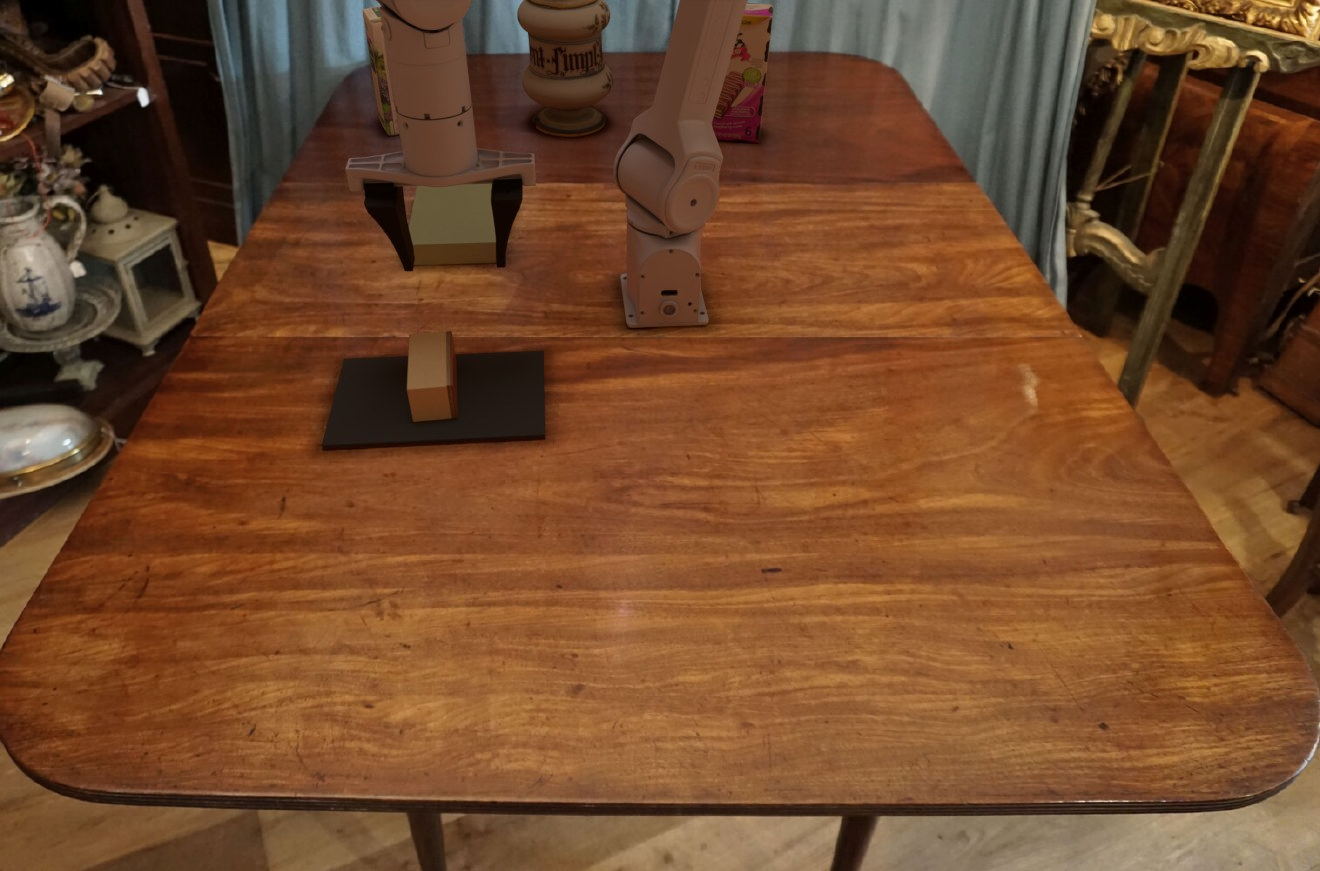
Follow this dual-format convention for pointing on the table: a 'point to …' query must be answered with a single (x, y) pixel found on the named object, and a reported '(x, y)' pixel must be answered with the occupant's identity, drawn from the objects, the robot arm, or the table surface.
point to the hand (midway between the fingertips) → (455, 263)
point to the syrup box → (380, 70)
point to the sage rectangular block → (453, 225)
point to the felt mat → (489, 409)
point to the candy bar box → (745, 78)
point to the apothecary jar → (566, 63)
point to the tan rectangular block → (432, 376)
